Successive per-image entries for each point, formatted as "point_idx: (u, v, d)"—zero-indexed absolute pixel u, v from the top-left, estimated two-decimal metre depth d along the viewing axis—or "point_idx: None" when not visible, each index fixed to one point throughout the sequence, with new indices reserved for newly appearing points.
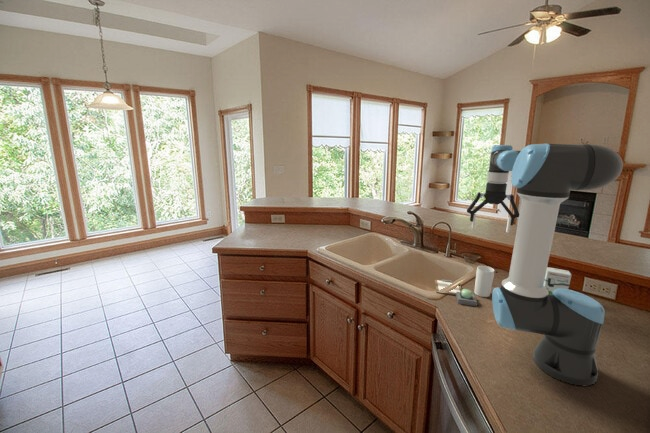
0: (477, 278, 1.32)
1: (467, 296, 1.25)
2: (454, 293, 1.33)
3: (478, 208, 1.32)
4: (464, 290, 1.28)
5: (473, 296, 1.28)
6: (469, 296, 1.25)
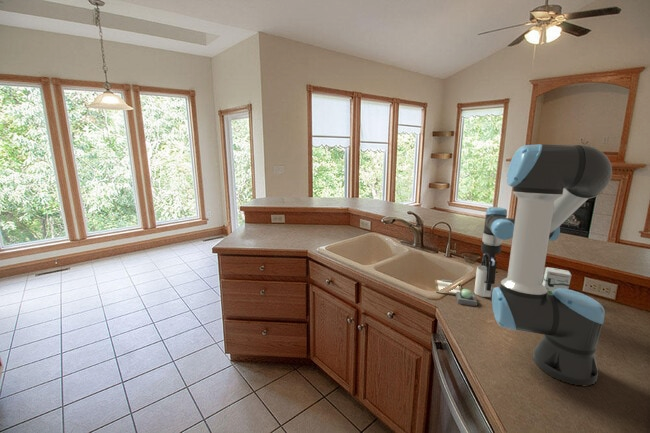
0: (477, 278, 1.32)
1: (467, 296, 1.25)
2: (454, 293, 1.33)
3: None
4: (464, 290, 1.28)
5: (473, 296, 1.28)
6: (469, 296, 1.25)
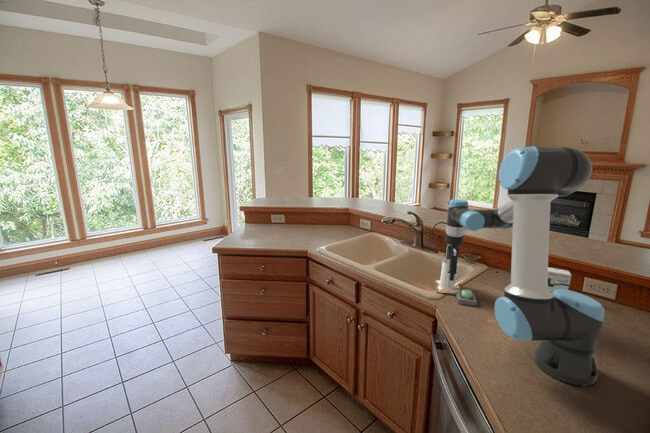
0: (442, 271, 1.36)
1: (467, 296, 1.25)
2: (454, 293, 1.33)
3: (447, 257, 1.40)
4: (464, 290, 1.28)
5: (473, 296, 1.28)
6: (469, 296, 1.25)
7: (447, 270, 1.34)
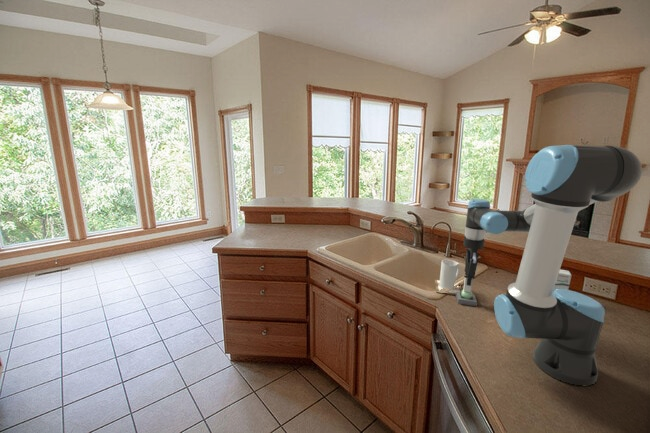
0: (441, 271, 1.36)
1: (467, 296, 1.26)
2: (454, 293, 1.33)
3: (466, 266, 1.26)
4: None
5: (473, 296, 1.28)
6: (469, 296, 1.25)
7: (446, 270, 1.34)
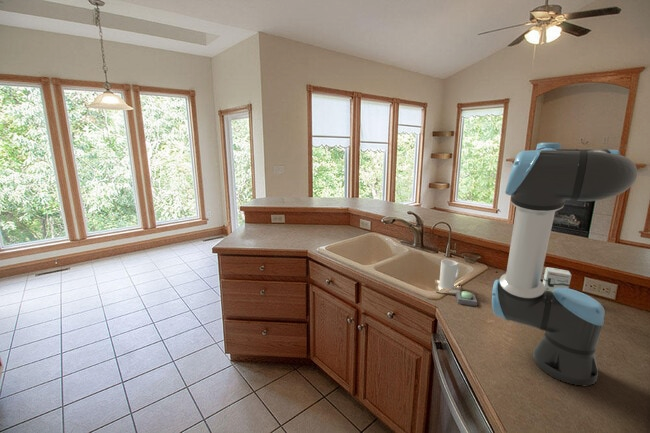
0: (441, 271, 1.37)
1: (466, 298, 1.26)
2: (454, 293, 1.33)
3: None
4: (464, 292, 1.28)
5: (473, 296, 1.28)
6: (469, 298, 1.26)
7: (445, 270, 1.34)
